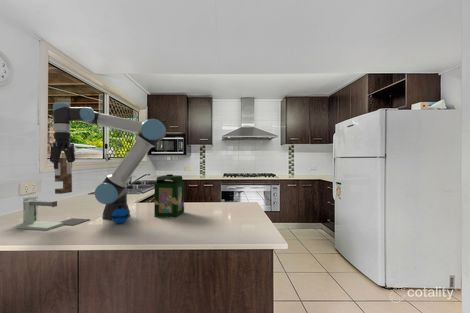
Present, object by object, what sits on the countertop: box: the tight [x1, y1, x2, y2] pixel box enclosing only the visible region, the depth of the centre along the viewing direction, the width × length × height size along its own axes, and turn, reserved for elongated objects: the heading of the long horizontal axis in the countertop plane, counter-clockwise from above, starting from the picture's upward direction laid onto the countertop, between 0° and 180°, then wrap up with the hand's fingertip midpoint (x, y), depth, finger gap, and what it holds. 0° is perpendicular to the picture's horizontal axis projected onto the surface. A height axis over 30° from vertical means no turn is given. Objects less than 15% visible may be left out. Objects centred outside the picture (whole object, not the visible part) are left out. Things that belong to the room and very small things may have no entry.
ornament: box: [111, 205, 130, 225], centre depth 143 cm, size 9×9×10 cm
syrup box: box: [22, 194, 39, 224], centre depth 144 cm, size 6×6×14 cm
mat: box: [59, 217, 91, 227], centre depth 145 cm, size 12×12×1 cm
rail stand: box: [16, 200, 65, 231], centre depth 136 cm, size 18×10×13 cm, turn 79°
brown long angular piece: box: [54, 157, 73, 195], centre depth 142 cm, size 4×7×19 cm, turn 170°
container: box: [153, 173, 185, 219], centre depth 164 cm, size 15×18×25 cm
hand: (63, 174), depth 142 cm, fingers closed on brown long angular piece, 7 cm apart
